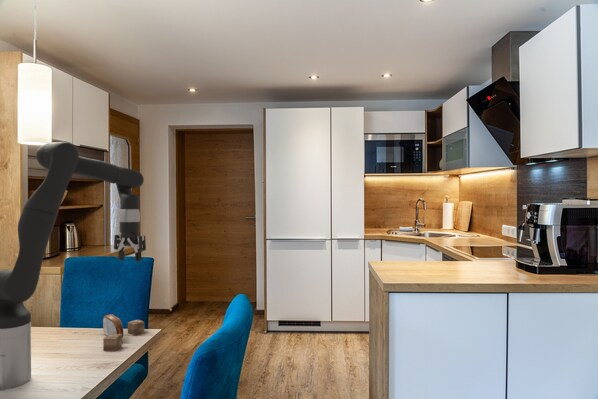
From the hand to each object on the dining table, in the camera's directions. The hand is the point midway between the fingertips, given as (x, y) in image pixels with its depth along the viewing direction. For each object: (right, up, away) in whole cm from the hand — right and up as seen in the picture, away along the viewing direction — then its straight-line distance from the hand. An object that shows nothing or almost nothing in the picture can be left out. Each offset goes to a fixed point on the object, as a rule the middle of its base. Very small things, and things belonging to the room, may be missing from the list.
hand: (129, 261), depth 160 cm
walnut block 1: (0, -30, -15) cm, 33 cm away
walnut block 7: (+2, -29, +2) cm, 29 cm away
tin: (-5, -30, -4) cm, 30 cm away
